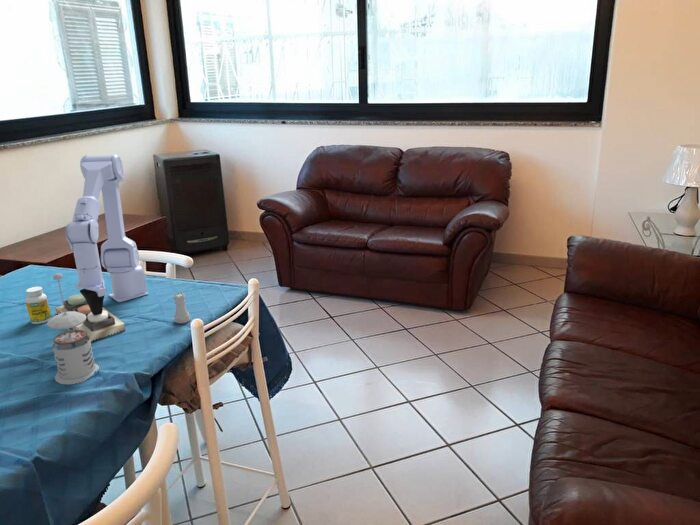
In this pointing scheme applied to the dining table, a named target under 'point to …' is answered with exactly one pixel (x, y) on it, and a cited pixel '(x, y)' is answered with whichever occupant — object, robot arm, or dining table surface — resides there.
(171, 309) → the dining table surface
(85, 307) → the button terracotta
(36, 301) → the supplement bottle
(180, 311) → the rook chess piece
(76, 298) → the button sage
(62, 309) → the button board
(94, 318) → the button cream
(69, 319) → the french press
